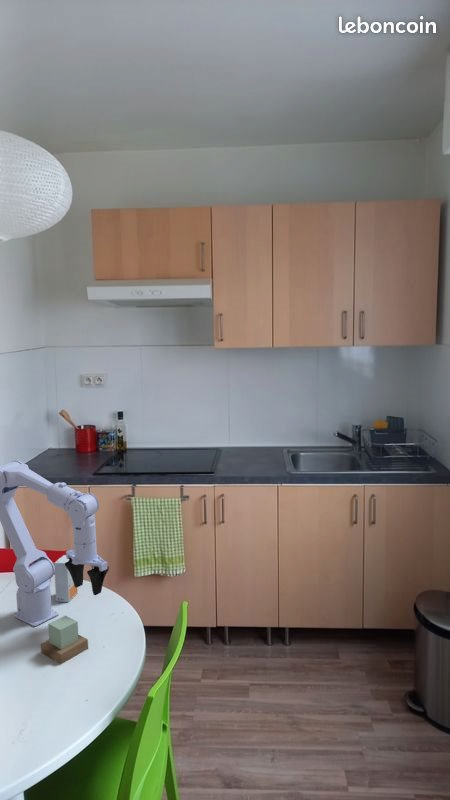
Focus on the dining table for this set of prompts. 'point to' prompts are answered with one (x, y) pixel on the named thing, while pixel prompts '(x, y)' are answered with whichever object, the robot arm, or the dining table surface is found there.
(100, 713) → the dining table surface
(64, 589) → the skincare box
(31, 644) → the dining table surface
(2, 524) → the robot arm
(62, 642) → the sage cube
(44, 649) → the walnut block
